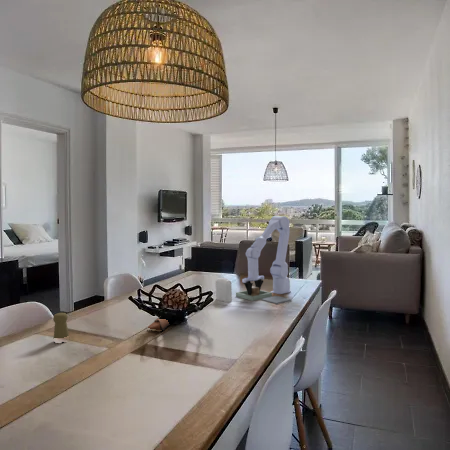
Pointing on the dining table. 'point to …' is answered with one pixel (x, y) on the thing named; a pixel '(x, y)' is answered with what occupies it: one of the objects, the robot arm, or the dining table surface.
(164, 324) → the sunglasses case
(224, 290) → the white rounded block
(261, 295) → the bin
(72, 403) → the dining table surface
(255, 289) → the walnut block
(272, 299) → the slate mat
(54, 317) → the cork
